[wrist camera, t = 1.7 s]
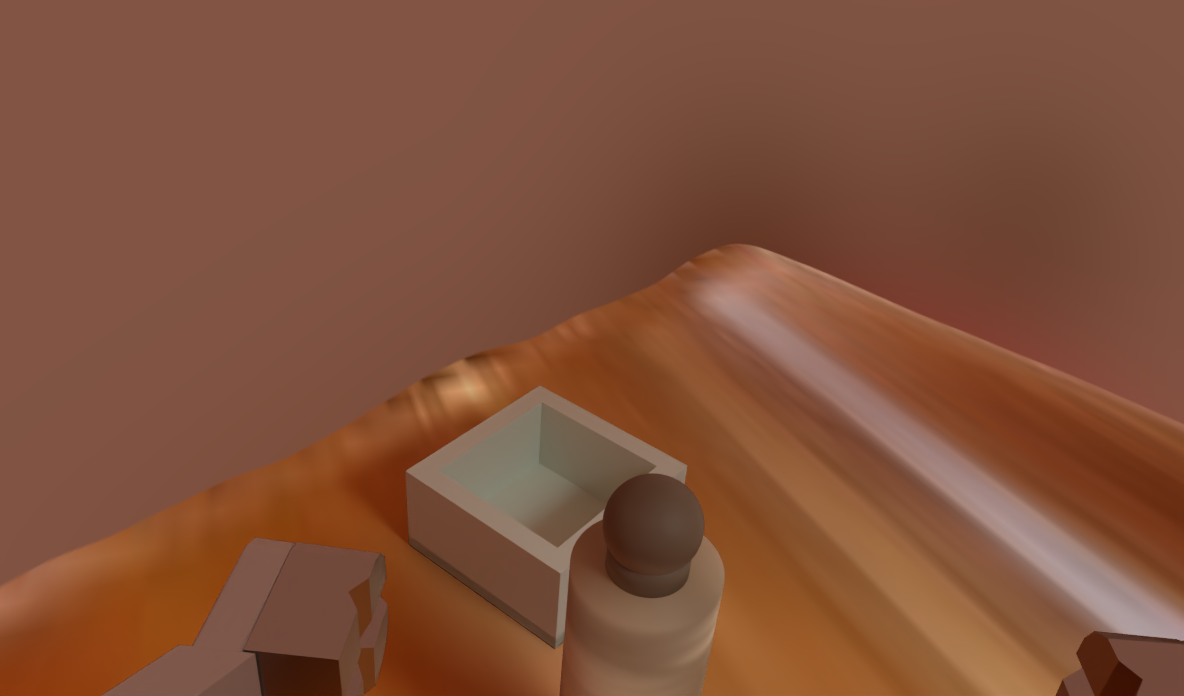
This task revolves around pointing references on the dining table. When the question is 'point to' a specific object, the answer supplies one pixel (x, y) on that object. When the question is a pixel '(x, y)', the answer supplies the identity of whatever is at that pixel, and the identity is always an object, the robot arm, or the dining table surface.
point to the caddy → (523, 502)
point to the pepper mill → (642, 595)
